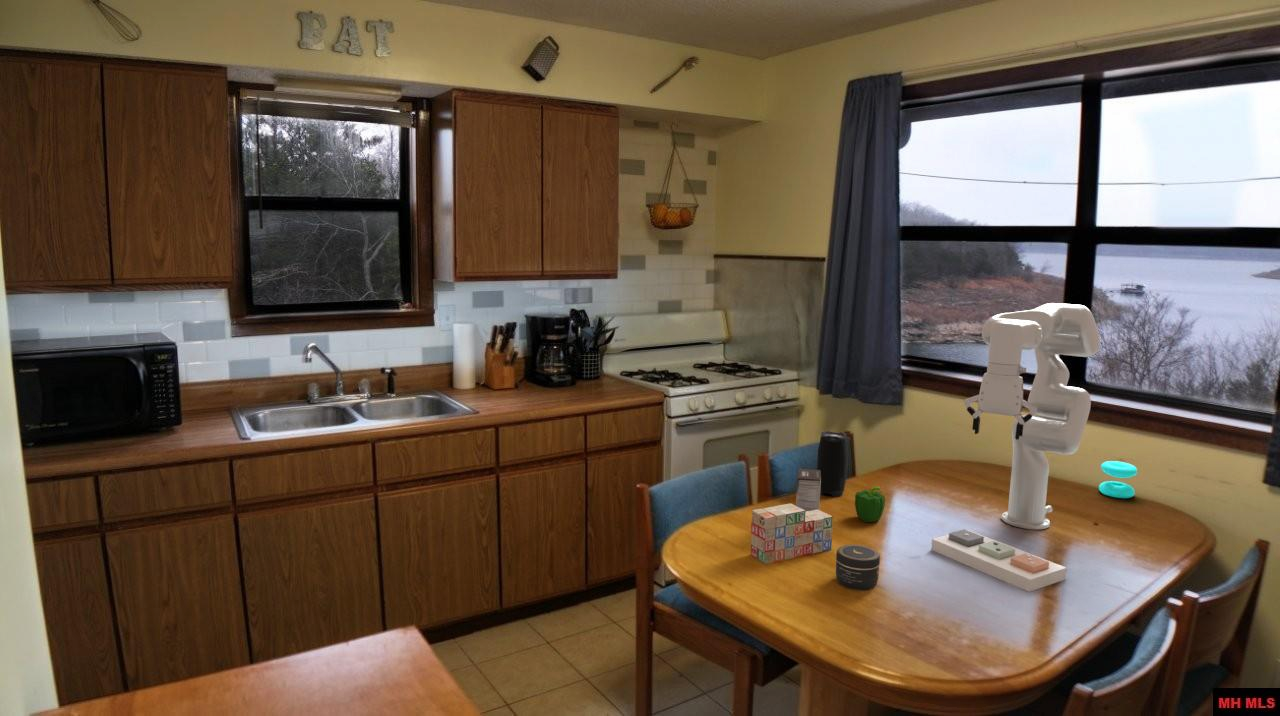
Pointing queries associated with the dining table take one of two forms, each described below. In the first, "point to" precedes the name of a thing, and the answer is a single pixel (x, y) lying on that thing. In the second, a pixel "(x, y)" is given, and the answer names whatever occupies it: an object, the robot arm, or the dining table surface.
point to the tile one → (966, 538)
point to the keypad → (999, 564)
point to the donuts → (1116, 487)
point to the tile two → (996, 550)
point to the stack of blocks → (789, 532)
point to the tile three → (1029, 563)
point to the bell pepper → (869, 504)
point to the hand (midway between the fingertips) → (996, 435)
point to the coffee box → (808, 489)
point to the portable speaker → (832, 462)
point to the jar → (857, 567)
